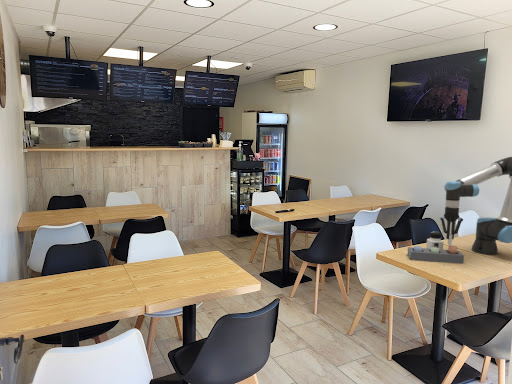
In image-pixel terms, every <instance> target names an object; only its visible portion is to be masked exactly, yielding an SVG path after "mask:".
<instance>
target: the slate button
mask: <svg viewBox="0 0 512 384" xmlns="http://www.w3.org/2000/svg"><path fill="white" fill-rule="evenodd" d="M413 248H414V251H419V252H422V248H423V247H422V246H419V245H415V246H414V245H413Z"/></svg>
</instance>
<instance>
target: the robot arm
mask: <svg viewBox="0 0 512 384" xmlns="http://www.w3.org/2000/svg"><path fill="white" fill-rule="evenodd" d="M505 175H508V178H509V179H510V181H509V184H508V188H507V191H506V194H505V198H504V201H503V203H502V208H501V211H500V214H499V216H498V217H479V218H477V221H476V228H475V229H476V231H475V239H474V241H473V244H472V246H471V251H472V252H474V253H478V254H483V255H490V256H491V255H493V256H494V255H498V254H499V249H498V244H497V241H498V242H500V243H504V244H512V156H507V157H504V158H501V159H499V160H497V161H495V162H492V163H491V164H490V165H489V166H487V167H485V168H484V167H483V168H482V169H480V170H478V171H475V172H473V173H471V174H469V175H466V176H464V177H462V178H459V179H457V180H455V181H453V180H452V181H451V180H450V181H447V182H446V183H445V184H444V191H445V207H444V214H443V216H440V217H439V220H440V221H441V225H442V230H443V231H442V232H443V233H444V234H446V240H447V245H448V246H449V245H452V244H453V243H452V242H453V240H455V235H457V234H459V229H460V227H461V224H462V222H463V221H464V219H463V218H462V217H460V215H459V214H460V208H459V207H460V200H461V198H465V197H466V198H467V197H468V198H469V197H471V198H473V197H476V196H478V195H479V194H480V187H479V184H482V183H484V182H486V181H488V180H490V179H492V178H496V177H501V176H505ZM445 220H446V223H445ZM450 232H451V233H450Z"/></svg>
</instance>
